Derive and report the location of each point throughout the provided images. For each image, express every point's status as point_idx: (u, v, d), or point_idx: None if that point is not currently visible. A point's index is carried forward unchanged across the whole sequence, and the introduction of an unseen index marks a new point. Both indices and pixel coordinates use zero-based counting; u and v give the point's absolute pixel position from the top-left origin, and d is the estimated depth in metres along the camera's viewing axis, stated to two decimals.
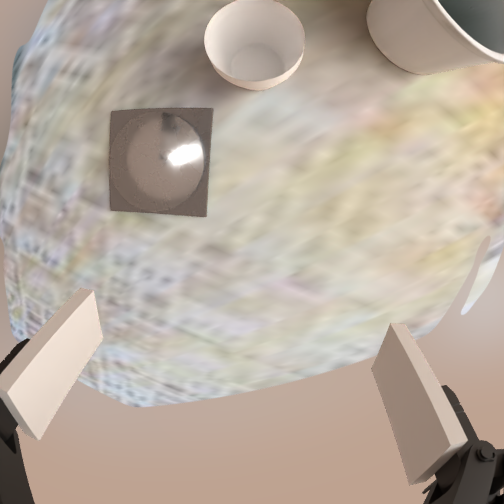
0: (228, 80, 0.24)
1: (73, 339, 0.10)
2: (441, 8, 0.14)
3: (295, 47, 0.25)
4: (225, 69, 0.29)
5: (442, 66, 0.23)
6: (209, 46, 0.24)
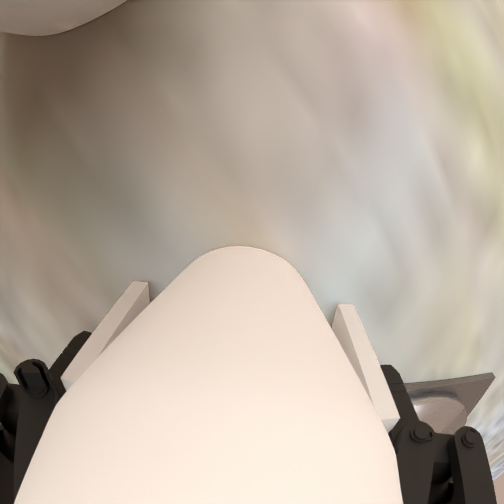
0: None
1: None
2: None
3: (187, 305, 0.07)
4: None
5: None
6: None
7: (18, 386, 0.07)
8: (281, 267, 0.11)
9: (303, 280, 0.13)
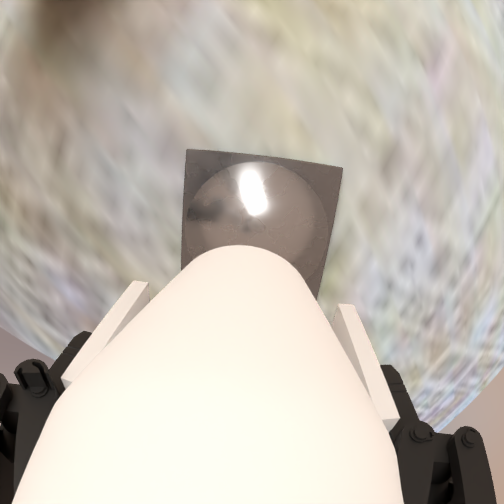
0: None
1: None
2: None
3: (186, 304, 0.07)
4: None
5: None
6: None
7: (18, 386, 0.07)
8: (281, 266, 0.11)
9: (303, 279, 0.13)
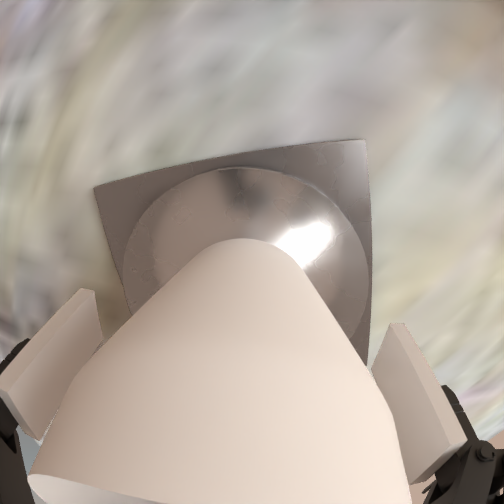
0: None
1: (73, 339, 0.10)
2: None
3: (199, 284, 0.08)
4: None
5: None
6: None
7: None
8: (282, 256, 0.12)
9: None
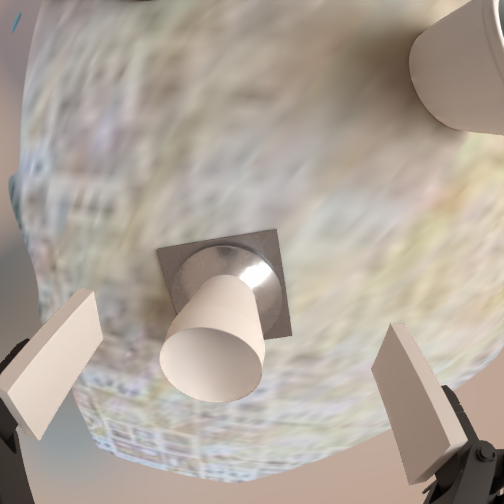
0: (255, 372, 0.26)
1: (73, 339, 0.10)
2: None
3: (207, 294, 0.27)
4: (234, 341, 0.33)
5: None
6: (215, 379, 0.28)
7: None
8: (238, 283, 0.32)
9: (249, 287, 0.33)
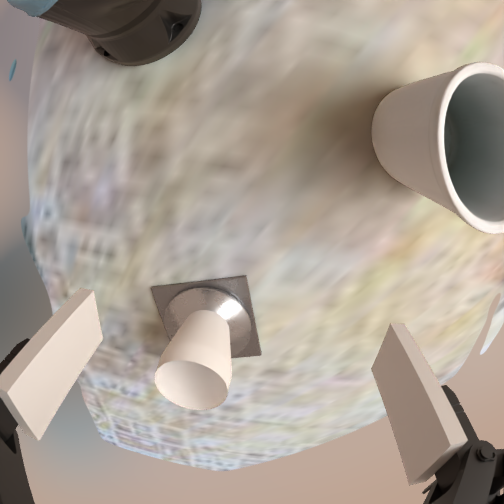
0: (225, 388, 0.35)
1: (73, 339, 0.10)
2: (461, 209, 0.19)
3: (189, 330, 0.35)
4: None
5: None
6: (197, 391, 0.36)
7: None
8: (215, 318, 0.40)
9: (224, 320, 0.41)
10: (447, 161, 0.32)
